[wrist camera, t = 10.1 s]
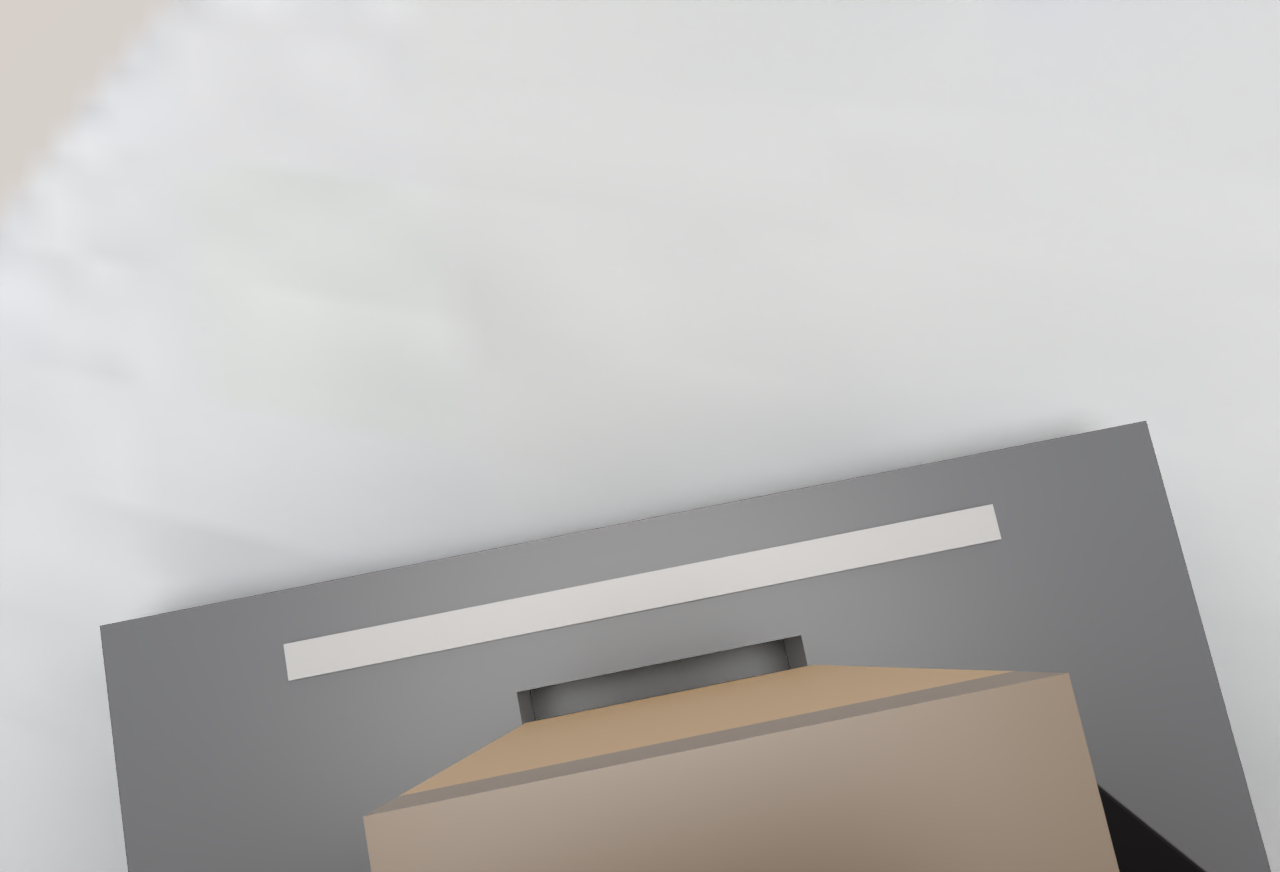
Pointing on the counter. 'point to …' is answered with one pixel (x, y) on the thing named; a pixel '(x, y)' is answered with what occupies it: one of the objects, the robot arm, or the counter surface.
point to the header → (682, 648)
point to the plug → (774, 782)
